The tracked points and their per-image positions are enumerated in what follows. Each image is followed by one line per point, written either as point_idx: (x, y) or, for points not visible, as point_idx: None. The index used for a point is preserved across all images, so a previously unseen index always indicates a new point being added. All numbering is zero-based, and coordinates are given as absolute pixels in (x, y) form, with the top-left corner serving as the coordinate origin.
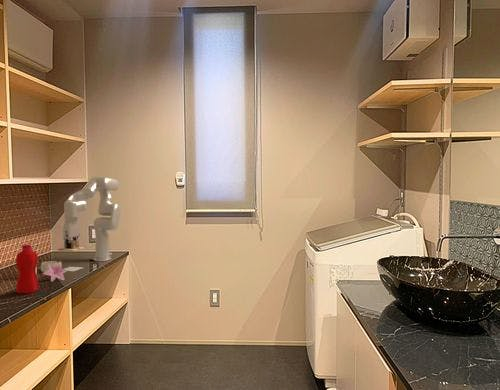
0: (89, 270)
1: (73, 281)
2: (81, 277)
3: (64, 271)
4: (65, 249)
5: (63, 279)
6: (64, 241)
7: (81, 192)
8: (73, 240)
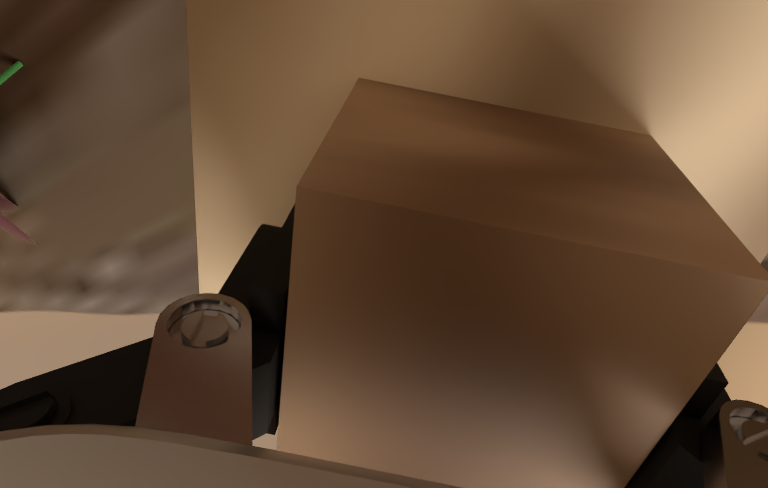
0: None
1: (16, 299)
2: (155, 308)
3: (9, 222)
4: (199, 199)
5: (9, 202)
6: (303, 205)
7: None
8: (585, 453)
